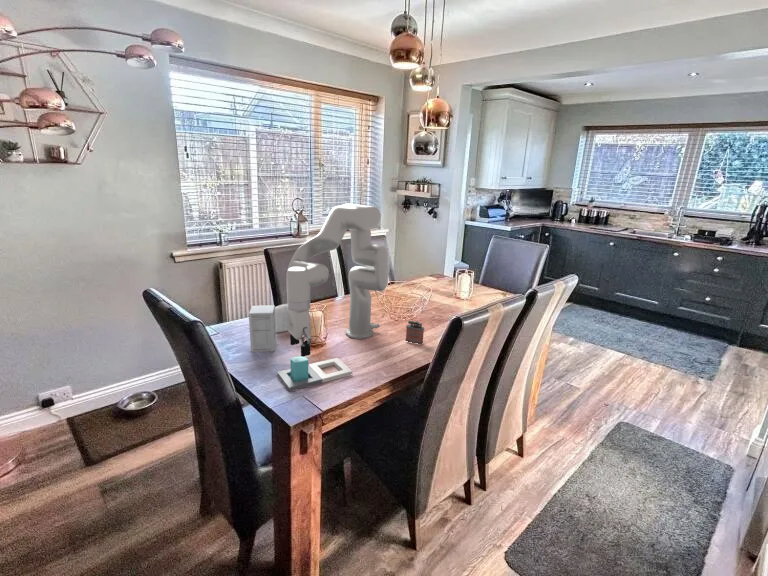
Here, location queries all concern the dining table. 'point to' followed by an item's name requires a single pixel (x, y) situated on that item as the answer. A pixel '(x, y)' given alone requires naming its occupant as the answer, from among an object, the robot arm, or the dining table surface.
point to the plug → (299, 368)
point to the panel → (315, 374)
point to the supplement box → (262, 328)
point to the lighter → (414, 332)
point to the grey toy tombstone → (281, 317)
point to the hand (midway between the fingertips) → (300, 349)
